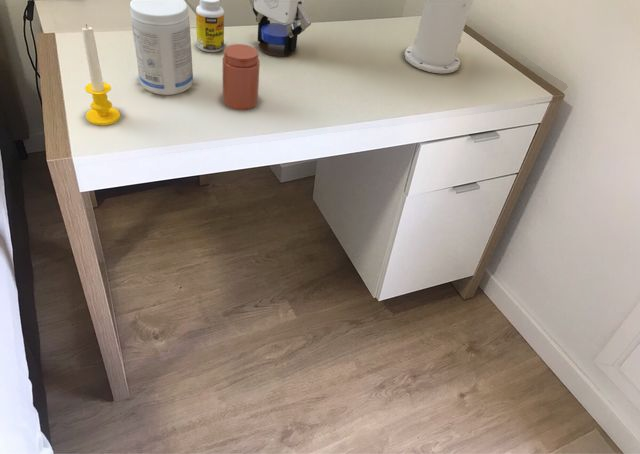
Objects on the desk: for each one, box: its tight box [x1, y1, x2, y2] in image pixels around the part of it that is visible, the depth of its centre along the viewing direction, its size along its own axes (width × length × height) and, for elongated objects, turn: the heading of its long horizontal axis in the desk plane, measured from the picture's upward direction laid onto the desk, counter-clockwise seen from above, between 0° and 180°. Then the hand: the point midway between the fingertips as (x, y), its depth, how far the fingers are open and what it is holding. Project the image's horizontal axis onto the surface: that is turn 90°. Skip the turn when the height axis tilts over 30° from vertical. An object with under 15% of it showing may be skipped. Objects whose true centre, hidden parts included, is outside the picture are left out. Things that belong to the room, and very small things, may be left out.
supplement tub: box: [129, 0, 194, 96], centre depth 90 cm, size 10×10×15 cm
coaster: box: [258, 41, 296, 58], centre depth 112 cm, size 8×8×1 cm
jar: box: [222, 43, 261, 111], centre depth 91 cm, size 6×6×10 cm
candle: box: [81, 24, 121, 126], centre depth 80 cm, size 5×5×16 cm
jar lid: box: [261, 22, 288, 45], centre depth 110 cm, size 7×7×2 cm
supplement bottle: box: [195, 0, 225, 53], centre depth 105 cm, size 6×6×10 cm
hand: (276, 45), depth 112 cm, fingers closed on jar lid, 6 cm apart
